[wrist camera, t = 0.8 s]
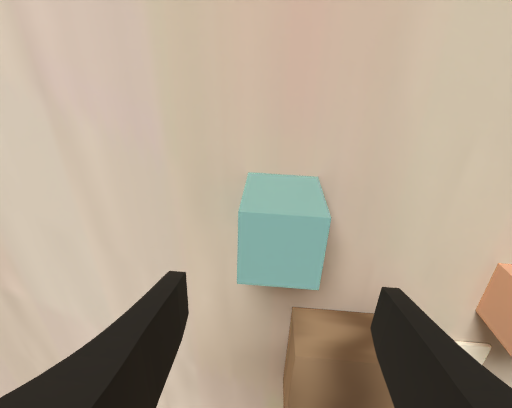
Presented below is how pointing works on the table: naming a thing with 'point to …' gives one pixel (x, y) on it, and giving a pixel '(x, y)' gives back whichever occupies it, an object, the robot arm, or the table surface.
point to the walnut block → (332, 362)
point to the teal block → (282, 231)
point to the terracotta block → (499, 305)
